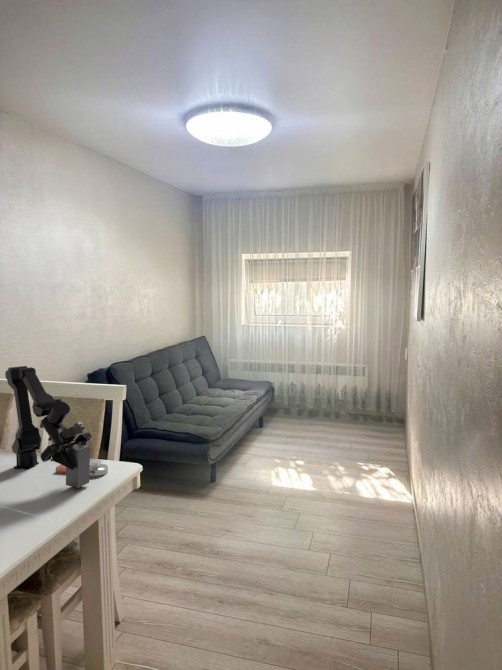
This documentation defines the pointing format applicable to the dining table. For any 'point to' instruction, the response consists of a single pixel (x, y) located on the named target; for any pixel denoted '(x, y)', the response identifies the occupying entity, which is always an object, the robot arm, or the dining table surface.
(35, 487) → the dining table surface
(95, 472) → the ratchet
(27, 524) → the dining table surface
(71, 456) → the tall grey pillar
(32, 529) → the dining table surface
